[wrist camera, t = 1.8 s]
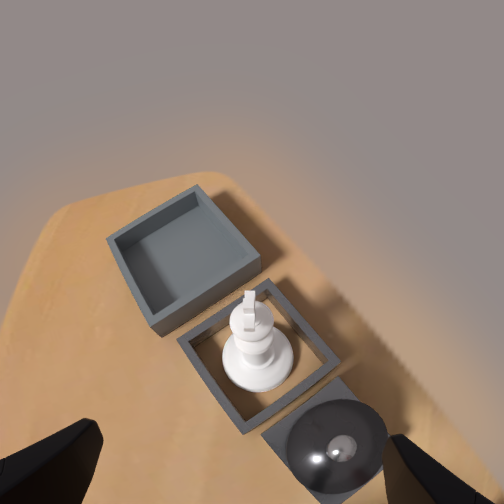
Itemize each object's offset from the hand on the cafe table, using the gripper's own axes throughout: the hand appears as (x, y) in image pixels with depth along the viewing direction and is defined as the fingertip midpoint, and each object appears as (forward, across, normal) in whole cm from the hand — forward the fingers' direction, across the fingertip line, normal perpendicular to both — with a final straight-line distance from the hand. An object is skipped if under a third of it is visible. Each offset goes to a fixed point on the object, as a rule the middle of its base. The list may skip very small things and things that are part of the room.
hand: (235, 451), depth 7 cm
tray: (+18, +6, -1) cm, 19 cm away
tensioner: (+10, -2, +7) cm, 12 cm away
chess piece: (+13, 0, +5) cm, 13 cm away
